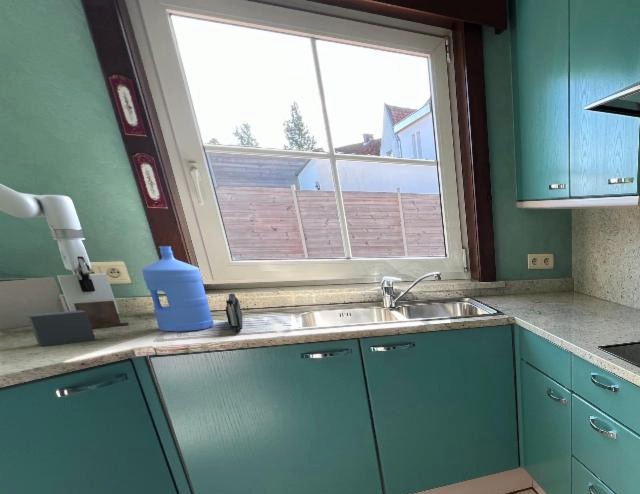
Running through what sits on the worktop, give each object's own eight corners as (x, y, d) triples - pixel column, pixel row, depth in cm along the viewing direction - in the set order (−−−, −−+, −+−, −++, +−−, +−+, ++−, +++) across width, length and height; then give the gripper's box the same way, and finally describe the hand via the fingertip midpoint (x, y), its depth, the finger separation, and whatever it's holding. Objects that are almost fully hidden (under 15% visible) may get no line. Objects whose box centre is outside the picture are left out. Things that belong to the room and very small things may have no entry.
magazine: (227, 296, 191) (218, 280, 166) (237, 295, 193) (230, 280, 168) (237, 340, 194) (230, 331, 168) (247, 339, 195) (241, 330, 170)
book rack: (75, 330, 168) (63, 298, 164) (65, 326, 174) (54, 294, 170) (128, 325, 179) (118, 294, 175) (117, 321, 185) (107, 291, 181)
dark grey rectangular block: (42, 346, 148) (30, 316, 144) (38, 344, 150) (26, 314, 146) (96, 340, 157) (86, 311, 154) (91, 338, 159) (81, 310, 156)
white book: (73, 317, 169) (58, 276, 164) (72, 317, 170) (56, 275, 165) (119, 313, 178) (106, 273, 173) (117, 312, 179) (104, 273, 174)
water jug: (215, 322, 188) (195, 245, 177) (213, 330, 176) (191, 247, 165) (162, 325, 180) (138, 245, 169) (156, 333, 167) (130, 247, 157)
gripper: (45, 234, 165) (66, 290, 172) (59, 235, 157) (79, 294, 164) (76, 234, 171) (95, 288, 178) (90, 235, 163) (109, 292, 170)
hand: (87, 290), depth 171 cm, fingers closed on white book, 2 cm apart
